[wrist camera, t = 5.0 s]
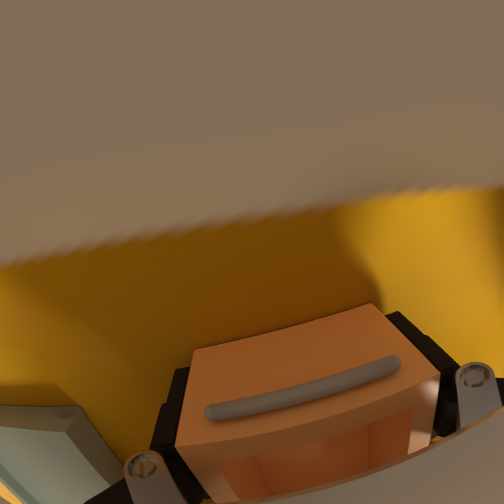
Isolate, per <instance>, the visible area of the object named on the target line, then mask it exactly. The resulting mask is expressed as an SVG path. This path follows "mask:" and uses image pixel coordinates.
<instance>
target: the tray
mask: <svg viewBox="0 0 504 504" xmlns="http://www.w3.org/2000/svg"><path fill="white" fill-rule="evenodd" d="M123 467H124V466H123V465H122V464H121V462H120V461H119V460H118V459H117V457H116V456H115V455H114V454H113V452H112V451H111V450H110V448H109V447H108V446H107V444H106V443H105V442H104V440H103V439H102V438H101V436H100V435H99V434H98V432H97V431H96V429H95V428H94V426H93V425H92V424H91V422H90V421H89V419H88V418H87V416H86V415H85V413H84V412H83V410H82V409H81V407H80V406H69V407H34V406H9V405H0V482H1V483H2V484H3V485H4V486H5V487H6V488H7V489H8V490H9V491H10V492H11V493H12V494H13V495H14V496H16V497H17V498H18V499H19V500H20V501H21V502H22V503H23V504H83V503H85V502H86V501H87V500H89V499H91V498H92V497H94V496H96V495H97V494H99V493H101V492H102V491H104V490H105V489H107V488H109V487H110V486H112V485H113V484H115V483H117V482H118V481H120V480H121V479H123V478H124V477H125V476H124V471H123Z"/></svg>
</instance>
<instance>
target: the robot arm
mask: <svg viewBox="0 0 504 504" xmlns="http://www.w3.org/2000/svg"><path fill="white" fill-rule="evenodd" d="M385 317H386V318H387V319H388V320H389V321H390V322H391V323H392V324H393V325H394V326H395V327H396V328H397V329H398V330H399V331H400V332H401V333H402V334H403V335H404V336H405V337H406V338H407V339H408V340H409V341H410V342H411V343H412V344H413V345H414V346H415V347H416V348H417V349H418V350H419V351H420V352H421V353H422V354H423V355H424V356H425V357H426V358H427V359H428V361H429V362H430V363H431V364H432V365H433V366H434V367H435V368H436V369H437V370H438V371H439V372H440V382H439V390H438V398H437V404H436V411H435V417H434V422H433V428H432V433H431V438H430V439H432V438H434V437H436V436H438V435H439V437H443V439H441V440H439V441H437V442H435V443H433V444H431V445H428V446H426V447H424V448H422V449H420V450H418V451H416V452H413V453H411V454H409V455H406V456H404V457H402V458H399V459H397V460H394V461H392V462H389V463H387V464H384V465H382V466H379V467H376V468H374V469H371V470H368V471H365V472H362V473H359V474H356V475H353V476H350V477H347V478H344V479H340V480H337V481H334V482H330V483H327V484H323V485H319V486H315V487H311V488H307V489H303V490H299V491H294V492H289V493H284V494H279V495H274V496H269V497H263V498H257V499H250V500H243V501H235V502H226V503H215V504H504V378H495V375H494V372H493V370H492V368H490V367H489V366H488V365H486V364H484V363H480V362H471V363H467V364H465V365H463V366H461V367H460V366H459V365H458V364H457V363H456V362H455V361H454V360H453V359H452V358H451V357H450V356H449V355H448V354H447V353H446V352H445V351H444V350H443V349H442V348H441V347H440V346H438V345H437V344H436V343H435V342H434V341H433V340H432V339H431V338H430V337H429V336H427V335H424V334H423V333H422V332H421V331H420V330H419V329H418V328H416V327H415V326H414V325H413V324H412V323H411V322H410V321H409V320H408V319H407V318H406V317H405V316H403V315H402V314H401V313H400V312H399V311H396V312H394V313H391V314H388V315H385ZM189 372H190V367H185V368H180V369H176V370H175V373H174V376H173V380H172V384H171V387H170V391H169V395H168V398H167V402H166V403H163V404H162V406H161V408H160V412H159V415H158V419H157V423H156V426H155V430H154V434H153V437H152V441H151V445H150V449H149V450H144V451H140V452H137V453H135V454H133V455H132V456H131V457H129V458H128V459H127V461H126V462H125V464H124V467H123V471H124V476H125V477H124V478H123V479H121V480H120V481H118V482H117V483H115V484H113V485H112V486H110V487H109V488H107V489H105V490H104V491H102V492H101V493H99V494H97V495H96V496H94V497H92V498H91V499H89V500H87V501H86V502H85V503H83V504H200V503H201V502H202V501H203V499H212V498H211V497H210V496H209V495H208V493H207V492H206V491H205V489H204V488H203V487H202V485H201V484H200V483H199V481H198V480H197V478H196V477H195V476H194V474H193V473H192V471H191V470H190V469H189V467H188V466H187V464H186V463H185V461H184V460H183V458H182V457H181V455H180V454H179V452H178V451H177V449H176V448H175V442H176V437H177V432H178V426H179V421H180V416H181V411H182V406H183V401H184V396H185V391H186V386H187V381H188V377H189Z"/></svg>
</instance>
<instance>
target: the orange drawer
mask: <svg viewBox="0 0 504 504" xmlns="http://www.w3.org/2000/svg"><path fill="white" fill-rule="evenodd" d="M439 382H440V372H439V371H438V370H437V369H436V368H435V367H434V366H433V365H432V364H431V363H430V362H429V361H428V359H427V358H426V357H425V356H424V355H423V354H422V353H421V352H420V351H419V350H418V349H417V348H416V347H415V346H414V345H413V344H412V343H411V342H410V341H409V340H408V339H407V338H406V337H405V336H404V335H403V334H402V333H401V332H400V331H399V330H398V329H397V328H396V327H395V326H394V325H393V324H392V323H391V322H390V321H389V320H388V319H387V318H386V317H385V316H384V315H383V314H382V313H381V312H380V311H379V310H378V309H377V308H376V307H375V306H374V305H373V304H372V303H369V304H366V305H363V306H360V307H356V308H353V309H350V310H347V311H344V312H340V313H337V314H334V315H330V316H327V317H324V318H320V319H317V320H313V321H310V322H306V323H303V324H299V325H296V326H292V327H288V328H284V329H281V330H277V331H273V332H269V333H265V334H261V335H257V336H253V337H249V338H245V339H241V340H237V341H232V342H228V343H224V344H219V345H215V346H210V347H205V348H201V349H196V350H194V353H193V358H192V362H191V367H190V372H189V377H188V381H187V386H186V391H185V396H184V401H183V406H182V411H181V416H180V421H179V426H178V432H177V437H176V442H175V448H176V449H177V451H178V452H179V454H180V455H181V457H182V458H183V460H184V461H185V463H186V464H187V466H188V467H189V469H190V470H191V471H192V473H193V474H194V476H195V477H196V478H197V480H198V481H199V483H200V484H201V485H202V487H203V488H204V489H205V491H206V492H207V493H208V495H209V496H210V497H211V498H212V500H213V501H214V502H215V503H226V502H235V501H243V500H250V499H257V498H263V497H269V496H274V495H279V494H284V493H289V492H294V491H299V490H303V489H307V488H311V487H315V486H319V485H323V484H327V483H330V482H334V481H337V480H340V479H344V478H347V477H350V476H353V475H356V474H359V473H362V472H365V471H368V470H371V469H374V468H376V467H379V466H382V465H384V464H387V463H389V462H392V461H394V460H397V459H399V458H402V457H404V456H406V455H409V454H411V453H413V452H416V451H418V450H420V449H422V448H424V447H426V446H428V445H429V442H430V438H431V433H432V428H433V422H434V417H435V411H436V404H437V398H438V390H439Z"/></svg>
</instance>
